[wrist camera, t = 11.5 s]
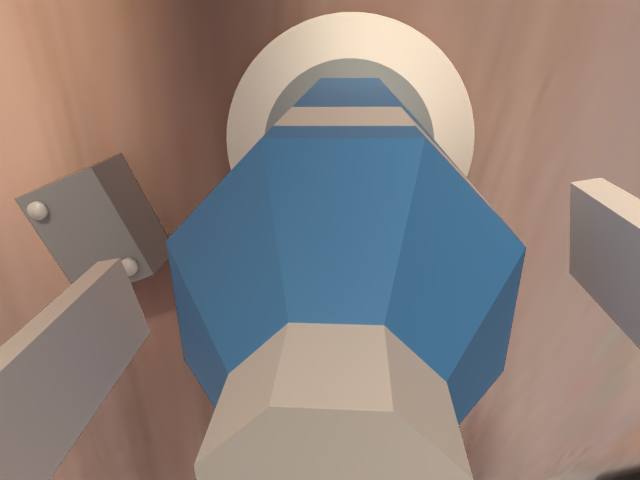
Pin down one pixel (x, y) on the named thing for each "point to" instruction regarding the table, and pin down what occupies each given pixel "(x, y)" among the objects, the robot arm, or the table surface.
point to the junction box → (98, 221)
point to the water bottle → (343, 297)
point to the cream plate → (353, 62)
